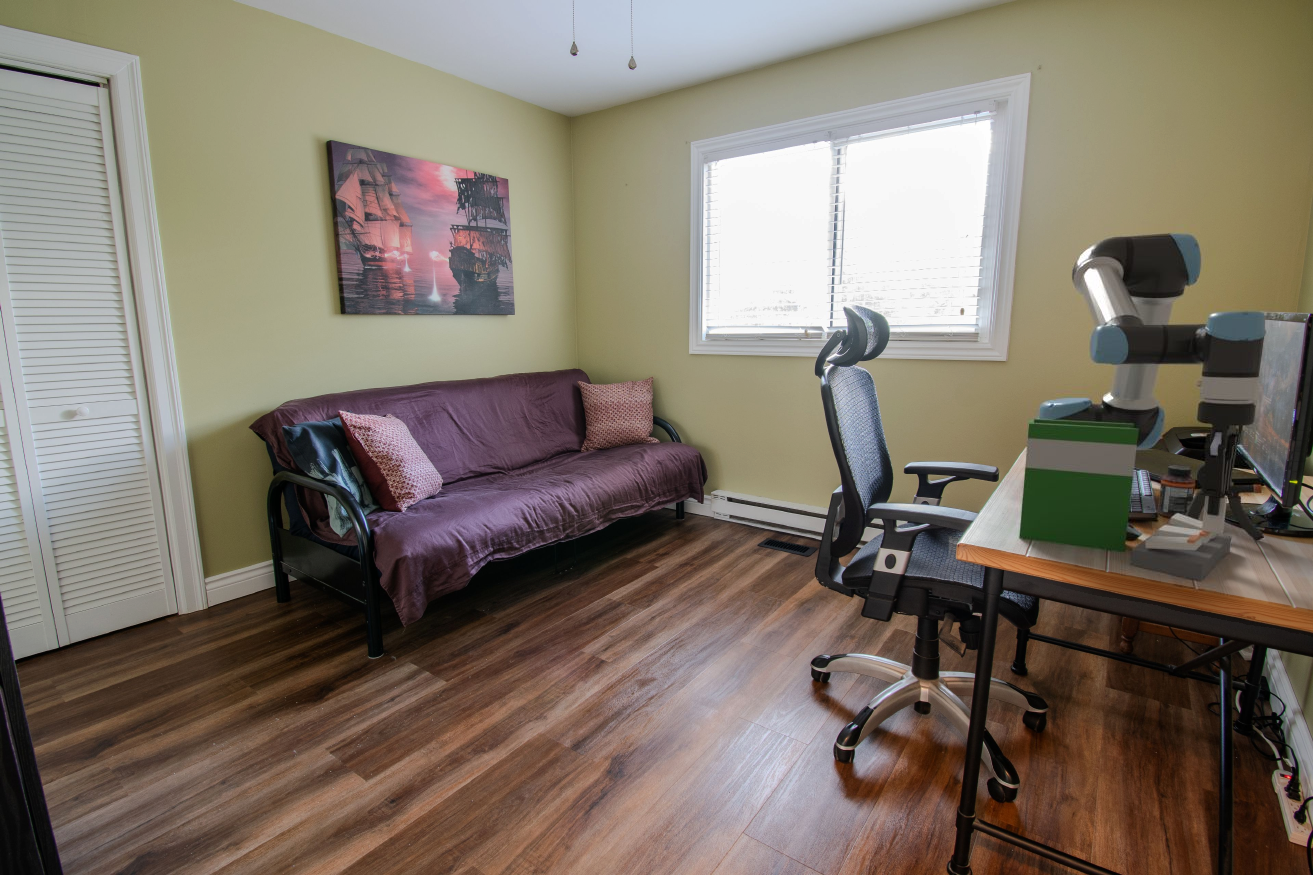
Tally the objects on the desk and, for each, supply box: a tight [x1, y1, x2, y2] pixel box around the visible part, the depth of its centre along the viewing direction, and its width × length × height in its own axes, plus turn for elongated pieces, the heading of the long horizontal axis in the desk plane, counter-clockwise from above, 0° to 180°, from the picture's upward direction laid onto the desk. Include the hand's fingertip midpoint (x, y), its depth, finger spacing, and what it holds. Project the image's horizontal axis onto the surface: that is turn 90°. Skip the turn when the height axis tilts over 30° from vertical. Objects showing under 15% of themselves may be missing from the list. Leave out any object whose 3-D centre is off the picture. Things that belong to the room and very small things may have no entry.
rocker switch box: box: [1130, 524, 1233, 582], centre depth 121 cm, size 27×10×3 cm, turn 129°
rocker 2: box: [1168, 513, 1219, 539], centre depth 123 cm, size 4×7×2 cm, turn 39°
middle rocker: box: [1157, 524, 1212, 543], centre depth 118 cm, size 4×7×2 cm, turn 39°
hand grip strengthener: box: [1186, 463, 1265, 542], centre depth 129 cm, size 2×12×15 cm, turn 51°
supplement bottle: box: [1157, 464, 1196, 519], centre depth 144 cm, size 6×6×11 cm
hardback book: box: [1018, 417, 1139, 553], centre depth 128 cm, size 18×7×24 cm, turn 60°
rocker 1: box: [1145, 535, 1202, 550], centre depth 114 cm, size 4×7×2 cm, turn 39°
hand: (1212, 531), depth 115 cm, fingers closed
